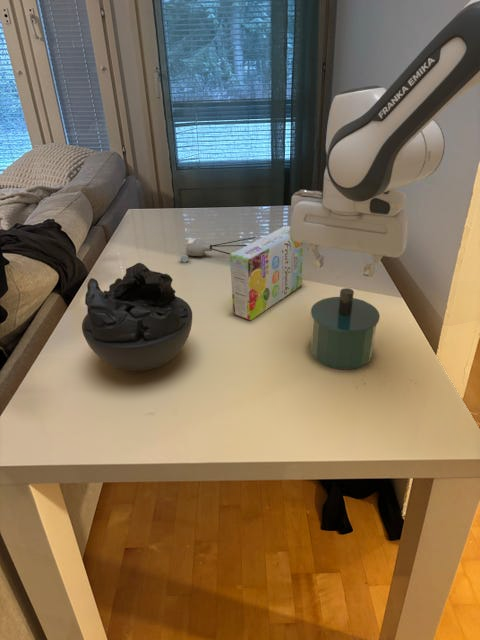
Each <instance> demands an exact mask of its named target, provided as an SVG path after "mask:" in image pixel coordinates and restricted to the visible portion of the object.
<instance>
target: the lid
mask: <svg viewBox="0 0 480 640" xmlns="http://www.w3.org/2000/svg"><path fill="white" fill-rule="evenodd" d="M339 292H340V293H339V296H332V297H326V298H323V299H321V300H319V301H318V300H317V302H315V303H314V304H313V305H312V306H311V308H310V317H311V319H312V321H313V320H314V321H315V322H316V323H317V324H319V325H320V326H322V327H324V328H326V329H329V330H332V331H337V332H343V333H357V332H363V331H367V330H369V329H371V328H373V327H375V326H376V327H377V325H378V324H379V322H380V313H379V310H378V309H377V308H376V307H375V306H374V305H372V304H371V303H369V302H368V301H365V300H363V299H359V298H356V297H355V298H354V295H355V291H354V290H353V289H351V288H348V287H347V288H345V287H344V288H342V289H340V291H339Z"/></svg>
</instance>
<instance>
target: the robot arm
mask: <svg viewBox="0 0 480 640" xmlns="http://www.w3.org/2000/svg"><path fill="white" fill-rule="evenodd" d="M479 84H480V0H470V1H468V3H466V4H465V6H464V7H462V8H461V10H460V11H459V12H458V13H456V15H455V16H454V17H453V18H452V19H451V20H450V21H449V22H448V23H447V24H446V25H445V26H444V27H443V28H442V29H441V30H440V31H439V32H438V33H437V34H436V35H435V36H434V37H433V39H431V40H430V41H429V43H427V45H425V47H424V48H423V49H422V50H421V52H419V53H418V55H417V56H416V57H415V58H414V59H413V60H412V61H411V63H410V64H409V65H407V67H406V68H405V69H404V71H402V73H401V74H400V75H399V76H398V77H397V78H396V80H395V81H393V83H392V84H391V85H390V86H389V87H388V88H387V89H386V88H385V87H383V86H381V85H367V86H366V85H365V86H361V87H355V88H348V89H345V90H342V91H340V92H339V93H337V94H336V95H335V96H334V97H333V99H332V102H331V105H330V107H329V113H328V118H327V126H326V137H325V153H326V166H325V169H324V173H323V183H322V184H323V186H322V191H321V190H308V189H299V191H295V192H294V193H293V194H292V196H291V200H290V201H291V202H290V203H291V204H290V208H291V218H290V224H289V226H290V237H291V239H292V240H293V241H295V242H301V243H303V244H307V250H308V252H309V254H310V256H311V257H312V266H313V267H316V268H322V267H323V266H324V263H325V262H324V260H325V256H324V255H321V254H320V252H319V250H318V248H319V246H321V247H326V248H332V249H339V250H346V251H350V252H351V251H352V252H357V253H362V254H363V253H364V254H369V255H370V254H371V260H373V262H372V263H365V266H364V267H363V276H364V277H370V278H372V277H373V276H374V274H375V271H376V270H375V269H376V266H377V265H378V264H379V262H380V261H381V260H382V259H383V257H388V258H395V259H396V258H399V257H400V256H402V255H403V254H404V252H405V251H406V249H407V244H408V234H409V233H408V232H409V231H408V230H409V221H408V215H407V213H406V211H405V210H404V209H403V208H404V206H405V203H406V200H407V195H406V194H405V193H404V192H403V191H399V190H398V189H399V188H403V187H404V186H407V185H411V184H414V183H417V182H419V181H421V180H423V179H425V178H428V177H429V176H431V175H432V174H434V172H436V171H437V169H438V168H439V166H440V164H441V163H442V160H443V158H444V155H445V146H446V145H445V144H446V143H445V135H444V132H443V130H442V128H441V126H440V125H439V123H438V122H437V121H436V120H435V119H436V118H437V117H438V116H439V115H440V114H441V113H442V112H443V111H444V110H445V109H446V108H447V107H448V106H449V105H451V103H453V102H454V101H455V100H456V99H457V98H459V97H460V96H461V95H462V94H464V93H465V92H467V91H469V90H470V89H472V88H474V87H475V86H477V85H479Z"/></svg>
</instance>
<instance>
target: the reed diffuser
mask: <svg viewBox="0 0 480 640" xmlns="http://www.w3.org/2000/svg"><path fill="white" fill-rule="evenodd" d="M253 239H256V237H255V236H252V237H248V238H243V239H238V240H233V241H227V242H223V243H218V244H217V243H216V244H213V245H212V244H211V243H207V244H206V243H205V241H204V240H203V239H201V238H189V239H187V241H186V244H185V251H186V254H182V255H181V256H180V261H181V262H182V263H187V262H188V261H189V256H193V257H195V256H196V257H201V256H203V255H204V254H205V253H206V252H212V251H215V252H219V253H223V254H226V255H230V254H231V253H230V252H227V251H223V250H220V249H215V248H216V247H219V248H220V247H245V246H247V245H248V244H231V243H236V242H241V241H242V242H243V241H247V240H253ZM226 244H227V245H226ZM228 244H229V245H228ZM230 244H231V245H230Z"/></svg>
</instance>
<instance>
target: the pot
mask: <svg viewBox="0 0 480 640" xmlns="http://www.w3.org/2000/svg"><path fill="white" fill-rule="evenodd" d="M311 331H312V332H311V343H310V345H311V346H310V348H311V350H310V351H311V354H312V356H313V358H314V359H315V360H316V361H317V362H318V363H319V364H322V365H323V366H326V367H328V368H330V369H331V368H332V369H335V370H343V371H344V370H345V371H348V370H355V369H356V370H357V369H359V368H362V367H364V366H366V365H367V364H368V363H369V362H370V360H371V358H372V355H373V351H374V345H375V344H374V343H375V337H376V331H377V325H376V326H375V327H373V328H371V329H369V330H367V331H363V332H357V333H343V332H337V331H332V330H329V329H326V328H324V327H322V326H320V325H319V324H317V323H316V322H315V321H314V320H313V319H312V328H311Z"/></svg>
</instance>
